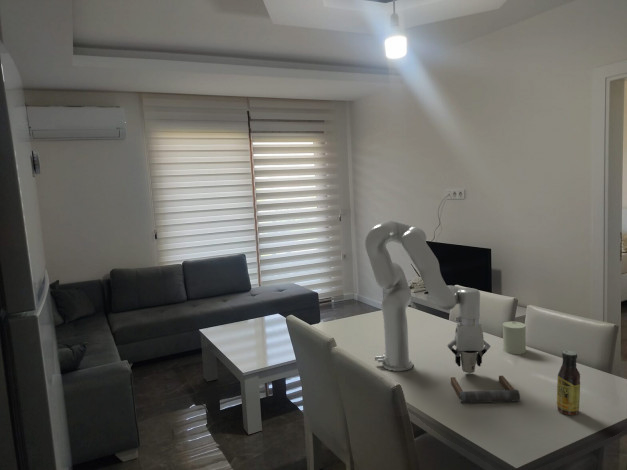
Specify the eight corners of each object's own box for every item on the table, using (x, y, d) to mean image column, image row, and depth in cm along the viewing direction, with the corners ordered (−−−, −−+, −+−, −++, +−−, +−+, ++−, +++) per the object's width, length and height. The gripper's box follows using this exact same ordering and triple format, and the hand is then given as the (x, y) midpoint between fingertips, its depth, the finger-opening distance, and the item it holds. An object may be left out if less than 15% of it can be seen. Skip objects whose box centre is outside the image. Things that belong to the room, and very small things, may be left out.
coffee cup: (479, 374, 167) (479, 349, 165) (460, 373, 168) (460, 348, 167) (476, 367, 173) (476, 342, 172) (457, 366, 175) (458, 342, 173)
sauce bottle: (552, 407, 143) (552, 348, 141) (570, 405, 144) (570, 347, 141) (565, 418, 137) (565, 356, 134) (584, 415, 137) (585, 354, 135)
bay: (462, 404, 148) (462, 394, 148) (450, 383, 164) (450, 374, 164) (520, 403, 147) (520, 392, 147) (503, 382, 163) (502, 372, 162)
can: (524, 347, 194) (524, 320, 193) (527, 355, 186) (527, 327, 184) (502, 345, 197) (501, 319, 196) (503, 353, 189) (503, 326, 187)
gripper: (448, 324, 165) (447, 369, 167) (495, 323, 164) (494, 369, 166) (443, 317, 172) (443, 361, 175) (489, 317, 171) (488, 361, 173)
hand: (468, 364), depth 170 cm, fingers closed on coffee cup, 7 cm apart
